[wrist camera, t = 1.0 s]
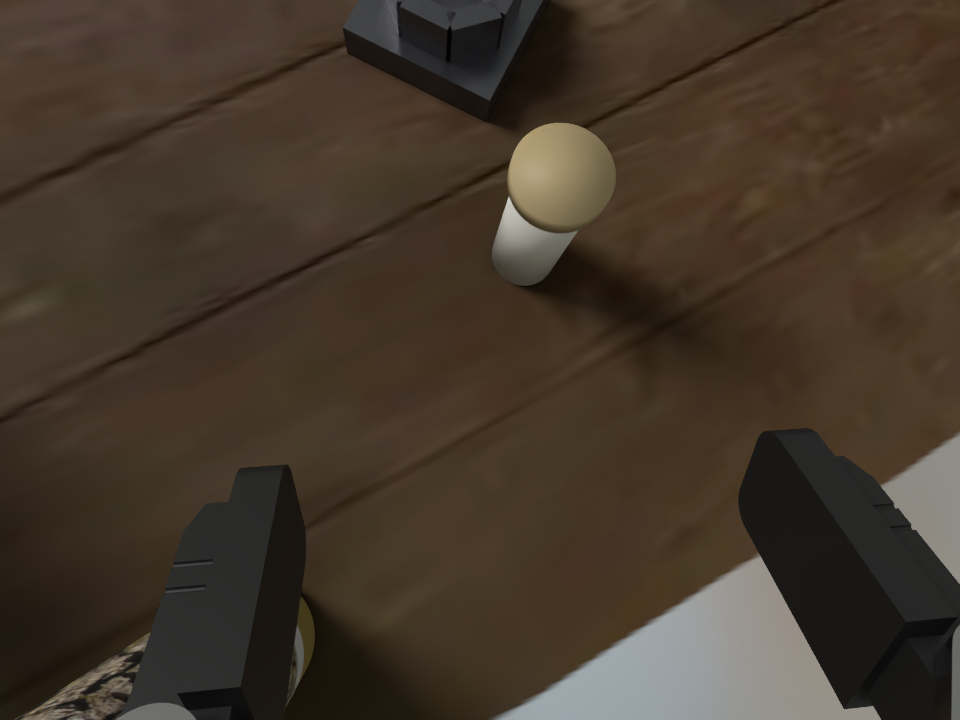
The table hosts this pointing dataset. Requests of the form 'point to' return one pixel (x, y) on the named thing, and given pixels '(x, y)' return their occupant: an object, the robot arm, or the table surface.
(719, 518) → the table surface
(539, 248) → the white beige cylinder
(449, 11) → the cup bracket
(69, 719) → the paper tube
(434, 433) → the table surface
